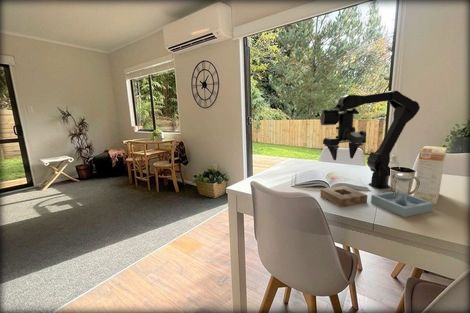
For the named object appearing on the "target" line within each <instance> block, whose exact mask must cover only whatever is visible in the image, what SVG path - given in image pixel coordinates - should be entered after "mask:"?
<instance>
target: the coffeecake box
mask: <svg viewBox="0 0 470 313" xmlns="http://www.w3.org/2000/svg"><path fill="white" fill-rule="evenodd" d="M446 152H447V147H445V146H444V147H443V146H433V145H424V146H423V147H422V148H421V149H420V151H419V155H418V163H417V170H416V171H417V172H416V177H417V178H418V179H419V181H420V186H419V188H418V190H417V191H416V192H414V193H413V196H415V197H418V198H421V199H424V200H426V201H429V202H432V203H434V204H433V205H437V203H438V200H439V196H440V192H441V186H442V185H441V184H442V179H443V172H444V165H445V160H446V159H445V158H446ZM416 186H417V181H416V180H415V186H414V189H415V188H416Z"/></svg>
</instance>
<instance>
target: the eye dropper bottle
mask: <svg viewBox="0 0 470 313" xmlns="http://www.w3.org/2000/svg"><path fill="white" fill-rule="evenodd" d="M400 165H401V162H400V161H399V160H398V155H397V154H396V152H394V153H393V155H391V156H390V162H389V165H388V166H389V167H390V168H391V167H399V168H400V167H401V166H400Z"/></svg>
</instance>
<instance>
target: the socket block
mask: <svg viewBox="0 0 470 313" xmlns="http://www.w3.org/2000/svg"><path fill="white" fill-rule="evenodd" d="M320 195H321V196H320V197H322V196H323V197H322V198H324V199H325V198H326V200H327V199H328V201H329V202H331V203H333V204H335V205H337V206H338V207H340V208H344V207H349V206H354V205H359V204H365V203H368V194H366V193H364V192H360V191H359V190H357V189H354V188H351V187H349V186H347V185H339V186H331V187H330V186H329V187H326V188H320Z"/></svg>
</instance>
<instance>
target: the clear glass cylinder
mask: <svg viewBox="0 0 470 313" xmlns="http://www.w3.org/2000/svg"><path fill="white" fill-rule="evenodd" d="M394 178H395V179H396V186H395V191H396V194H395V202H394V203H396V204H399V205H401V206H406V205H407V198H408V194H409V187H410V181H411V180H413V174H412V173H407V172H399V173H396V175H395V177H394Z"/></svg>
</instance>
